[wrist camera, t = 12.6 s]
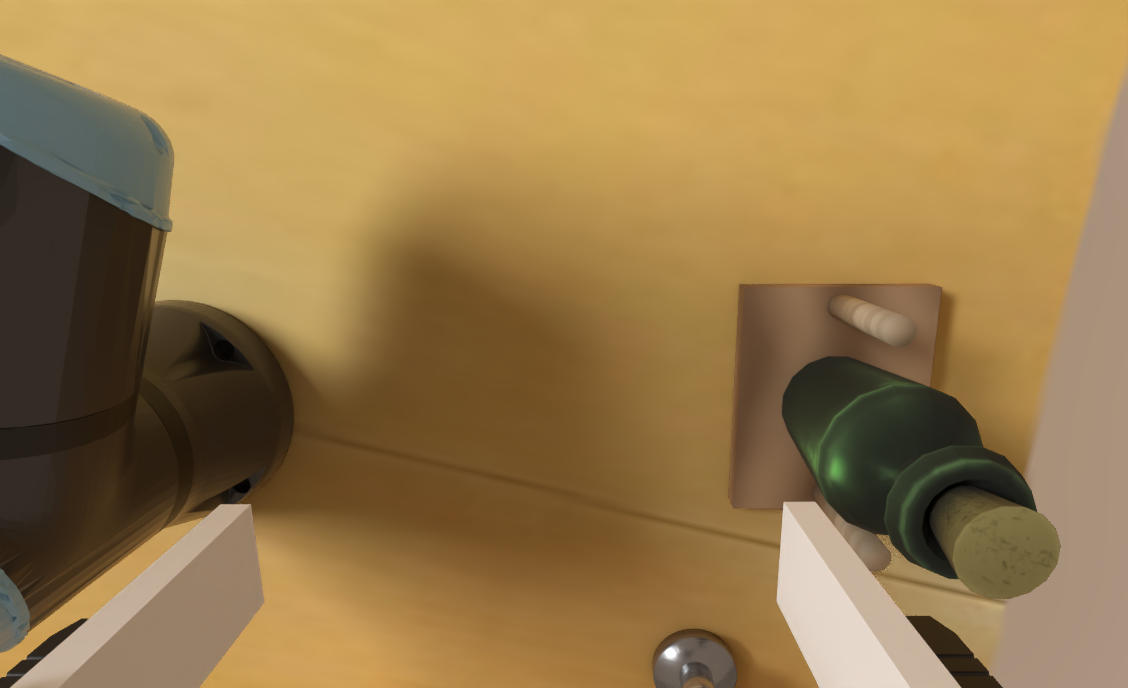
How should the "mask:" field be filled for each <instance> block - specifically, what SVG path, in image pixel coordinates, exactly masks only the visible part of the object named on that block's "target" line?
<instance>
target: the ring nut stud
mask: <svg viewBox="0 0 1128 688" xmlns="http://www.w3.org/2000/svg"><path fill="white" fill-rule="evenodd" d="M652 664H653V675H654V682H655V685H656V688H734V687H735V685H736V680H737V671H736V666H735V663H734V660H733V656H732V653H731V651H730V649H729V647H728V646H727V644H726V643H725V642H724V641H723V640H722V639H721V638H719V637H718V636H716V635H715V634H712V633H710V632H707V631H704V630H698V629H688V630H682V631H678V632H676V633H673V634H672V635H670V636H668V637H667V638H665V639H664V640H663V641H662V642H661V643H660V645H659V646H658V647H657V649H656V651H655V653H654V656H653V663H652Z"/></svg>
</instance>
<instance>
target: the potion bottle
mask: <svg viewBox="0 0 1128 688" xmlns="http://www.w3.org/2000/svg"><path fill="white" fill-rule="evenodd" d="M782 417H783V419H784V422H785V425H786V428H787V431H788V433H789V434H790V436H791V438H792V440H793V442H794V444H795V445H796V447H797V449H798V451H799V453H800V454H801V456H802V458H803V460H804V462H805V464H806V465H807V467H808V469H809V471H810V473H811V475H812V476H813V478H814V480H815V482H816V484H817V485H818V487H819V489H820V491H821V493H822V495H823V496H824V498H825V500H826V502H827V503H828V504H829V505H830V506H831V507H832V508H833V509H834V510H835V511H836V512H837V513H838V514H839V515H840V516H841V517H842V518H843V519H844V520H845V521H846V522H847V523H849V524H852V525H854V526H856V527H859V528H861V529H864V530H866V531H868V532H871V533H873V534H882V535H889V537H890V540H891V543H892V544H893V545H894V546H895V547H896V549H897V550H898V551H899V552H900V553H901V554H902V555H903V556H904V557H905V558H906V559H907V560H908V561H909V562H911V563H914V564H916V565H918V566H920V567H923V568H925V569H927V570H929V571H932V572H934V573H937V574H939V575H941V576H944V577H946V578H949V579H960V580H961V581H962V582H963V583H964V584H965V585H966V587H967V588H968V589H969V590H970V591H972V592H975V593H977V594H979V595H982V596H984V597H987V598H997V599H1010V598H1013V597H1017V596H1020V595H1023V594H1026V593H1029V592H1031V591H1032V590H1033V589H1035V588H1036V587H1038V586H1039V585H1041V584H1042V583H1043V582H1045V581H1046V580H1047V578H1048V577H1049V575H1050V574H1051V572H1052V571H1053V570H1054V568H1055V566H1056V565H1057V562H1058V557H1059V552H1060V547H1061V545H1060V542H1059V538H1058V535H1057V531H1056V528H1055V527H1054V526H1053V525H1052V524H1051V523H1050V522H1049V521H1048V519H1047V518H1046V517H1045V516H1044V515H1042V514H1040V513H1038V512H1037V509H1036V505H1035V502H1034V498H1033V495H1032V491H1031V490H1030V488H1029V486H1028V484H1027V483H1026V481H1025V479H1024V478H1023V476H1022V475H1021V474H1020V473H1019V471H1018V470H1017V469H1016V468H1015V467H1014V466H1013V465H1012V464H1011V463H1010V462H1009V461H1008V459H1007V458H1006V457H1005V456H1002V455H1000V454H997V453H995V452H993V451H990V450H988V449H986V448H984V447H983V444H982V441H981V437H980V434H979V430H978V427H977V424H976V420H975V419H974V418H973V417H972V416H971V415H970V414H969V413H968V412H967V410H966V409H965V408H964V407H963V406H962V405H961V404H960V403H959V402H958V401H957V400H956V398H954V397H952V396H949V395H947V394H945V393H942V392H940V391H938V390H935V389H933V388H930V387H928V386H926V385H923V384H920V383H918V382H915V381H912V380H910V379H907V378H904V377H902V376H899V375H896V374H894V373H891V372H888V371H886V370H883V369H880V368H878V367H875V366H872V365H870V364H867V363H864V362H862V361H859V360H856V359H854V358H851V357H846V356H827V357H824V358H822V359H819V360H816V361H813V362H811V363H808V364H807V365H806V366H805V367H803V368H802V369H801V370H800V371H799V372H798V373H796V374H795V375H794V376H793V377H792V379H791V380H790V382H789V384H788V386H787V388H786V390H785V392H784V394H783V401H782Z"/></svg>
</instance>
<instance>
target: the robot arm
mask: <svg viewBox="0 0 1128 688" xmlns="http://www.w3.org/2000/svg"><path fill="white" fill-rule="evenodd" d="M173 167H174V152H173V148H172V145H171V142H170V140H169V138H168V136H167V134H166V133H165V131H164V130H163V129H162V128H161V126H160V125H159V124H158V123H157V122H156V121H155V120H154V119H152V118H151V117H149V116H148V115H147V114H145V113H143V112H141V111H139V110H137V109H135V108H133V107H131V106H129V105H126V104H124V103H122V102H119V101H117V100H115V99H112V98H110V97H107V96H105V95H102V94H100V93H97V92H95V91H92V90H90V89H87V88H85V87H82V86H80V85H77V84H75V83H72V82H70V81H67V80H65V79H62V78H60V77H57V76H55V75H52V74H50V73H47V72H44V71H42V70H39V69H37V68H34V67H31V66H29V65H26V64H24V63H21V62H19V61H16V60H14V59H11V58H9V57H6V56H4V55H1V54H0V653H1V652H5V651H8V650H10V649H12V648H13V647H15V646H16V645H17V644H19V643H20V642H21V641H22V640H23V639H24V638H25V636H26V635H28V632H29V631H30V630H32V629H33V628H34V627H36V626H37V625H38V624H39V623H41V622H42V621H43V620H45V619H46V618H47V617H49V616H50V615H51V614H52V613H54V612H55V611H56V610H58V609H59V608H60V607H62V606H63V605H64V604H65V603H67V602H68V601H69V600H71V599H72V598H73V597H74V596H76V595H77V594H78V593H80V592H81V591H82V590H84V589H85V588H86V587H87V586H89V585H90V584H91V583H93V582H94V581H95V580H97V579H98V578H99V577H100V576H102V575H103V574H104V573H106V572H107V571H108V570H110V569H111V568H112V567H114V566H115V565H116V564H118V563H119V562H120V561H122V560H123V559H124V558H126V557H127V556H128V555H130V554H131V553H132V552H133V551H135V550H136V549H137V548H139V547H140V546H141V545H143V544H144V543H145V542H147V541H148V540H149V539H151V538H152V537H153V536H154V535H156V534H157V533H158V532H160V531H161V530H162V529H164V528H167V527H171V526H175V525H178V524H182V523H185V522H189V521H193V520H196V519H200V518H203V517H205V518H204V519H203V520H202V521H201V522H200V523H199V524H197V525H196V526H195V527H194V528H193V529H192V530H191V531H189V532H188V533H187V534H186V535H185V536H184V537H182V538H181V539H180V540H179V541H178V542H177V543H176V544H174V545H173V546H172V547H171V548H170V549H169V550H168V551H166V552H165V553H164V554H163V555H162V556H161V557H160V558H158V559H157V560H156V561H155V562H154V563H153V564H151V565H150V566H149V567H148V568H147V569H146V570H145V571H143V572H142V573H141V574H140V575H139V576H138V577H137V578H135V579H134V580H133V581H132V582H131V583H130V584H128V585H127V586H126V587H125V588H124V589H123V590H122V591H120V592H119V593H118V594H117V595H116V596H115V597H114V598H112V599H111V600H110V601H109V602H108V603H107V604H106V605H104V606H103V607H102V608H101V609H100V610H99V611H97V612H96V613H95V614H94V615H93V616H92V617H91V618H89V619H80V620H79V621H77V622H75V623H73V624H71V625H70V626H68V627H66V628H64V629H63V630H61V631H59V632H57V633H55V634H54V635H52V636H50V637H49V638H48V639H47V640H46V641H44V642H43V643H42V644H41V645H40V646H39V647H37V648H36V649H35V650H34V651H33V652H31V653H30V654H29V655H28V656H27V659H26V660H22V661H21V662H19V663H18V664H17V665H16V666H15V667H14V668H12V669H11V670H10V671H9V672H8V673H7V676H6V677H2V678H0V688H199V687H200V686H201V685H202V683H203V682H204V681H205V679H206V678H207V677H208V675H209V674H210V673H211V672H212V670H213V669H214V668H215V666H216V665H217V664H218V662H219V661H220V660H221V658H222V657H223V656H224V655H225V653H226V652H227V651H228V649H229V648H230V647H231V645H232V644H233V643H234V641H235V640H236V639H237V638H238V636H239V635H240V634H241V632H242V631H243V630H244V628H245V627H246V626H247V624H248V623H249V622H250V620H251V619H252V618H253V617H254V615H255V614H256V613H257V611H258V610H259V609H260V607H261V606H262V605H263V603H264V596H263V588H262V581H261V574H260V566H259V559H258V552H257V545H256V537H255V530H254V523H253V515H252V508H251V504H238V503H240V502H242V501H243V500H245V499H246V498H247V497H249V496H250V495H251V494H252V493H253V492H255V491H256V490H257V489H258V488H259V487H261V486H262V485H263V484H264V483H265V482H266V481H267V480H268V479H269V478H270V477H271V476H272V475H273V474H274V473H275V471H276V470H277V469H278V467H279V466H280V464H281V463H282V461H283V459H284V457H285V455H286V452H287V450H288V447H289V444H290V440H291V436H292V430H293V406H292V399H291V394H290V390H289V387H288V384H287V381H286V378H285V376H284V374H283V372H282V369H281V367H280V366H279V364H278V362H277V360H276V359H275V357H274V356H273V354H272V353H271V352H270V350H269V349H268V347H267V346H266V345H265V344H264V343H263V342H262V341H261V339H260V338H259V337H258V336H257V335H256V334H254V333H253V332H252V331H251V330H250V329H249V328H247V327H246V326H245V325H244V324H242V323H241V322H239V321H238V320H236V319H235V318H233V317H231V316H230V315H228V314H226V313H224V312H222V311H220V310H217V309H215V308H212V307H210V306H207V305H203V304H199V303H195V302H189V301H180V300H166V301H157V302H155V298H156V292H157V287H158V281H159V276H160V270H161V264H162V259H163V253H164V248H165V242H166V236H167V232H171V231H172V221H171V220H170V218H169V205H170V195H171V185H172V176H173ZM777 603H778V605H779V607H780V609H781V611H782V613H783V615H784V617H785V619H786V621H787V623H788V625H789V628H790V630H791V632H792V634H793V636H794V638H795V640H796V642H797V644H798V646H799V648H800V650H801V652H802V654H803V656H804V658H805V660H806V662H807V664H808V666H809V668H810V670H811V672H812V674H813V676H814V678H815V680H816V682H817V684H818V686H819V688H1003V687H1001V685H1000V684H999V683H998V682H997V681H996V679H995V678H994V677H993V676H990V675H989V671H988V670H987V669H986V668H985V667H984V666H983V664H982V663H981V662H980V661H979V660H978V659H977V658H974V654H973V653H972V652H971V651H970V649H969V648H968V647H967V646H966V645H965V644H964V643H963V641H962V640H961V639H960V638H959V637H958V636H957V635H956V634H955V633H954V632H953V631H951V630H950V629H948V628H947V627H945V626H944V625H942V624H941V623H939V622H938V621H936V620H935V619H933V618H932V617H930V616H905V615H904V614H903V613H902V612H901V610H900V609H899V608H898V606H897V605H896V604H895V603H894V601H893V600H892V599H891V598H890V596H889V595H888V594H887V592H886V591H885V590H884V589H883V587H882V586H881V585H880V584H879V582H878V581H877V580H876V578H875V577H874V576H873V575H872V573H871V572H870V571H869V570H868V568H867V567H866V566H865V564H864V563H863V562H862V561H861V559H860V558H859V557H858V556H857V554H856V553H855V552H854V550H853V549H852V548H851V547H850V545H849V544H848V543H847V542H846V540H845V539H844V538H843V536H842V535H841V534H840V533H839V531H838V530H837V529H836V528H835V526H834V525H833V524H832V522H831V521H830V520H829V519H828V517H827V516H826V515H825V513H824V512H823V511H822V510H821V508H820V507H819V506H818V505H817V503H816V502H784V504H783V518H782V532H781V546H780V560H779V574H778V588H777Z"/></svg>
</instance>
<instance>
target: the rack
mask: <svg viewBox="0 0 1128 688" xmlns="http://www.w3.org/2000/svg"><path fill="white" fill-rule="evenodd" d="M941 291H942V287H940V286H936V285H932V284H739V300H738V320H737V340H736V359H735V379H734V398H733V418H732V437H731V457H730V477H729V496H728V498H729V500H730V503H731V505H732V507H733V508H760V509H783V504H784V502H816V503H817V505H818V506H819V507H820V508H821V509H822V511H823V512H824V513H825V515H826V516H827V517H828V519H829V520H830V521H831V522H832V524H833V525H834V526H835V528H836V529H837V530H838V531H839V533H840V534H841V535H842V536H843V538H844V539H845V540H846V542H847V543H848V544H849V545H850V547H851V548H852V549H853V550H854V552H855V553H856V554H857V556H858V557H859V558H860V559H861V561H862V562H863V563H864V564H865V566H866V567H867V568H868V570H869V571H874V572H876V571H881V570H883V569H885V568H886V567H887V566H888V565H889V563H890V561H891V553H890V551H889V550H888V549H887V548H886V546H885V545H884V544H883V543H882V542H881V540H880V539H879V538H878V537H877V536H876V535H875V534H873V533H871V532H868V531H866V530H864V529H861V528H859V527H856V526H854V525H852V524H849V523H847V522H846V521H845V520H844V519H843V518H842V517H841V516H840V515H839V514H838V513H837V512H836V511H835V510H834V509H833V508H832V507H831V506H830V505H829V504H828V503H827V502H826V500H825V498H824V496H823V495H822V493H821V491H820V489H819V487H818V485H817V484H816V482H815V480H814V478H813V476H812V475H811V473H810V471H809V469H808V467H807V465H806V464H805V462H804V460H803V458H802V456H801V454H800V453H799V451H798V449H797V447H796V445H795V444H794V442H793V440H792V438H791V436H790V434H789V433H788V431H787V428H786V425H785V422H784V419H783V417H782V401H783V394H784V392H785V390H786V388H787V386H788V384H789V382H790V380H791V379H792V377H793V376H794V375H795V374H796V373H798V372H799V371H800V370H801V369H802V368H803V367H805V366H806V365H807V364H808V363H811V362H813V361H816V360H819V359H822V358H824V357H827V356H846V357H851V358H854V359H856V360H859V361H862V362H864V363H867V364H870V365H872V366H875V367H878V368H880V369H883V370H886V371H888V372H891V373H894V374H896V375H899V376H902V377H904V378H907V379H910V380H912V381H915V382H918V383H920V384H923V385H926V386H928V387H930V382H931V374H932V365H933V357H934V349H935V341H936V332H937V324H938V316H939V307H940V299H941Z"/></svg>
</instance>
